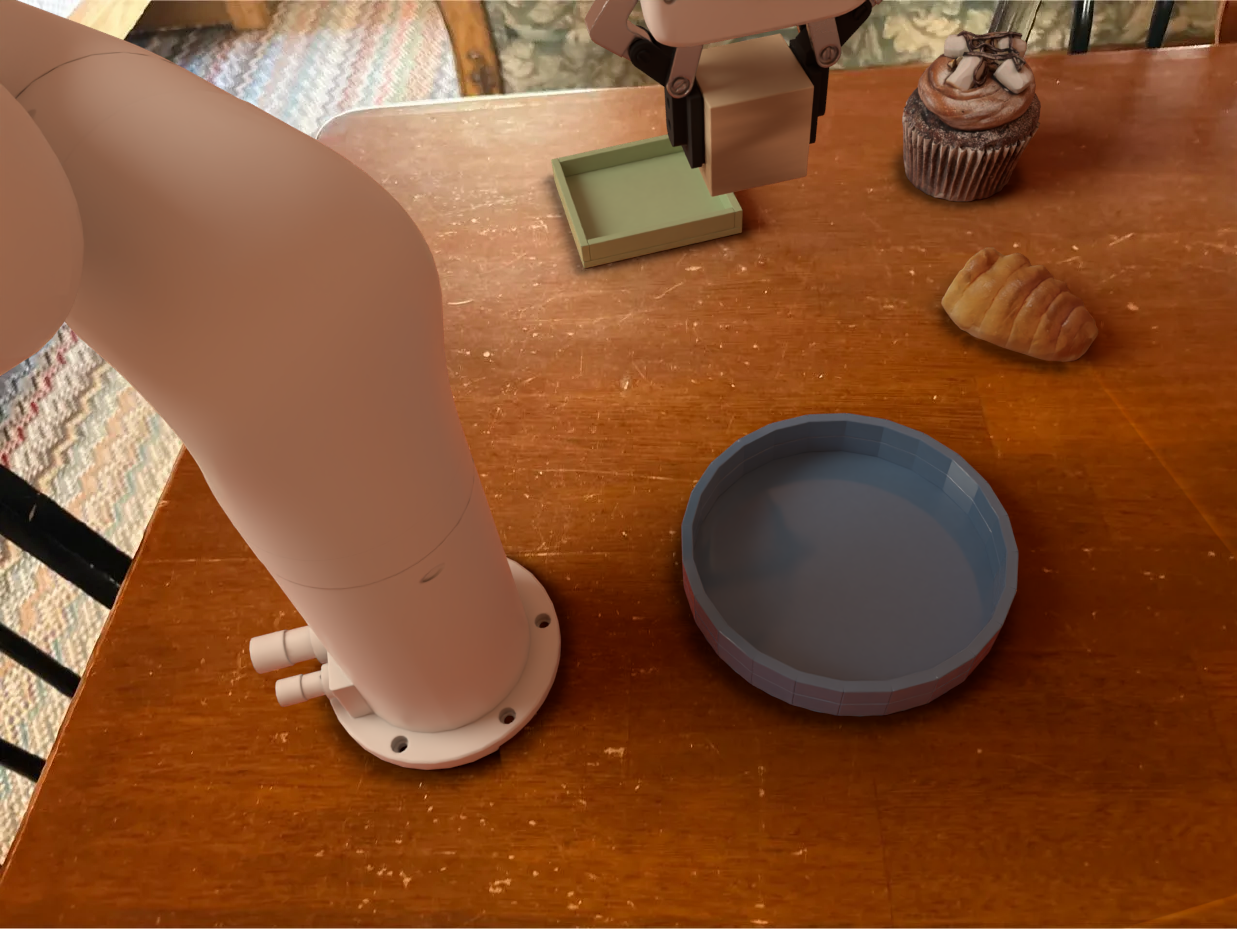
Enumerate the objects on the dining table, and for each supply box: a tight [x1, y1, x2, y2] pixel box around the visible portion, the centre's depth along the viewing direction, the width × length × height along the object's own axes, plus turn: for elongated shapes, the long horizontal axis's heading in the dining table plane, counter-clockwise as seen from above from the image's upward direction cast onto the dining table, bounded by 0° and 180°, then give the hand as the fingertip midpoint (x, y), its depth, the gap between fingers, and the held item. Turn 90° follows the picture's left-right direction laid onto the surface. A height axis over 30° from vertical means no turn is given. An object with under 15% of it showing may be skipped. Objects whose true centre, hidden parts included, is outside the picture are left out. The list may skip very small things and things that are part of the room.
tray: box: [550, 133, 744, 269], centre depth 72 cm, size 12×11×2 cm
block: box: [696, 33, 814, 197], centre depth 47 cm, size 5×5×5 cm
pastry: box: [941, 246, 1099, 363], centre depth 61 cm, size 9×7×4 cm
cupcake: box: [901, 30, 1042, 202], centre depth 69 cm, size 10×10×10 cm
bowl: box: [680, 412, 1020, 717], centre depth 51 cm, size 17×17×4 cm
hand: (745, 137), depth 48 cm, fingers closed on block, 5 cm apart
